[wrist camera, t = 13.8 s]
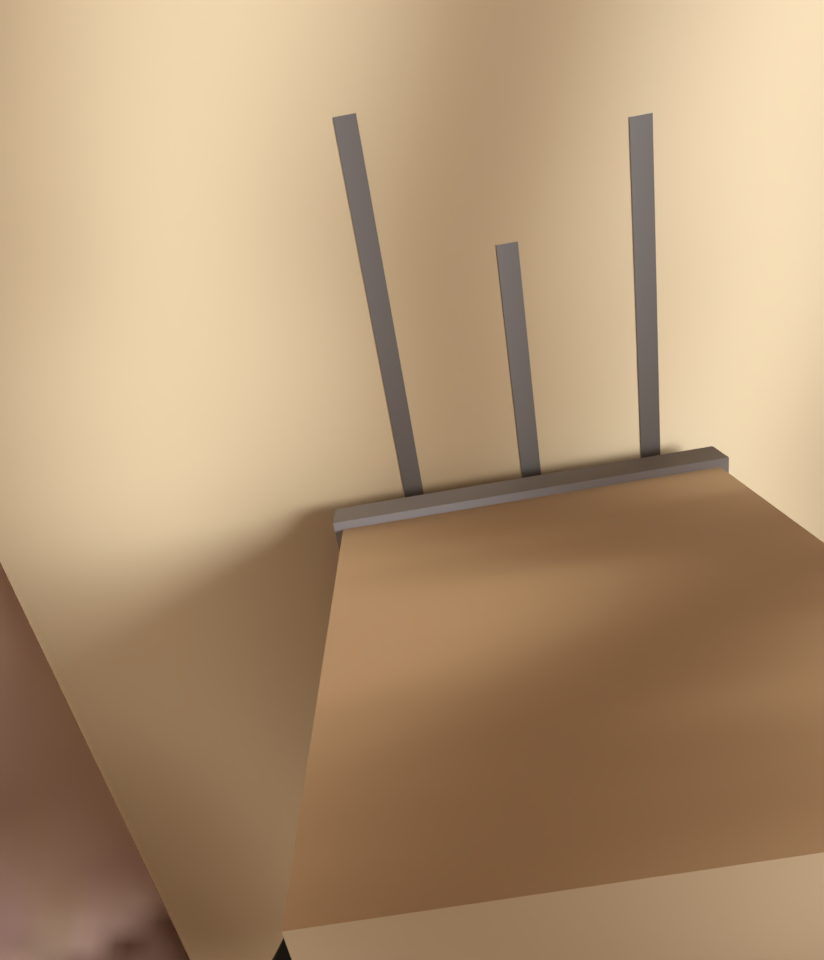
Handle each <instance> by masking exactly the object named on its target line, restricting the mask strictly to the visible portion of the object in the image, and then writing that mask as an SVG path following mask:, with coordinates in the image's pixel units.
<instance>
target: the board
mask: <svg viewBox="0 0 824 960" xmlns="http://www.w3.org/2000/svg"><path fill="white" fill-rule="evenodd" d="M710 446H713V447H715V448H716V449H718V450H719V451H721V452H722V453H724V454H725V455H726V456H728V457H729V474H731V475H732V476H733V477H735V478H736V479H737V480H739V481H740V482H742V483H743V484H744V485H746V486H747V487H748V488H750V489H751V490H752V491H754V492H755V493H757V494H758V495H759V496H761V497H762V498H763V499H765V500H766V501H768V502H769V503H770V504H772V505H773V506H774V507H776V508H777V509H778V510H780V511H781V512H783V513H784V514H785V515H787V516H788V517H789V518H791V519H792V520H793V521H795V522H796V523H798V524H799V525H800V526H802V527H803V528H804V529H806V530H807V531H808V532H810V533H811V534H813V535H814V536H815V537H817V538H818V539H819V540H821V541H822V542H823V543H824V0H0V563H1V565H2V567H3V569H4V571H5V573H6V575H7V577H8V580H9V582H10V584H11V586H12V588H13V590H14V592H15V594H16V596H17V598H18V601H19V603H20V605H21V607H22V609H23V611H24V613H25V615H26V617H27V619H28V621H29V624H30V626H31V628H32V630H33V632H34V634H35V636H36V638H37V640H38V642H39V645H40V647H41V649H42V651H43V653H44V655H45V657H46V659H47V661H48V663H49V665H50V668H51V670H52V672H53V674H54V676H55V678H56V680H57V682H58V684H59V686H60V688H61V691H62V693H63V695H64V697H65V699H66V701H67V703H68V705H69V707H70V709H71V712H72V714H73V716H74V718H75V720H76V722H77V724H78V726H79V728H80V730H81V732H82V735H83V737H84V739H85V741H86V743H87V745H88V747H89V749H90V751H91V753H92V755H93V758H94V760H95V762H96V764H97V766H98V768H99V770H100V772H101V774H102V776H103V779H104V781H105V783H106V785H107V787H108V789H109V791H110V793H111V795H112V797H113V799H114V802H115V804H116V806H117V808H118V810H119V812H120V814H121V816H122V818H123V820H124V822H125V825H126V827H127V829H128V831H129V833H130V835H131V837H132V839H133V841H134V843H135V846H136V848H137V850H138V852H139V854H140V856H141V858H142V860H143V862H144V864H145V866H146V869H147V871H148V873H149V875H150V877H151V879H152V881H153V883H154V885H155V887H156V889H157V892H158V894H159V896H160V898H161V900H162V902H163V904H164V906H165V908H166V910H167V913H168V915H169V917H170V919H171V921H172V923H173V925H174V927H175V929H176V931H177V933H178V936H179V938H180V940H181V942H182V944H183V946H184V948H185V950H186V952H187V954H188V956H189V959H190V960H272V959H273V957H274V955H275V953H276V951H277V949H278V947H279V945H280V943H281V942H282V940H283V938H284V937H283V935H282V932H281V931H282V925H283V918H284V912H285V905H286V899H287V892H288V886H289V879H290V873H291V866H292V860H293V853H294V847H295V840H296V833H297V827H298V820H299V814H300V807H301V801H302V794H303V788H304V781H305V775H306V768H307V762H308V755H309V749H310V742H311V736H312V729H313V723H314V716H315V710H316V703H317V697H318V690H319V684H320V677H321V670H322V664H323V657H324V651H325V644H326V638H327V631H328V625H329V618H330V612H331V605H332V599H333V592H334V586H335V579H336V573H337V566H338V560H339V553H340V551H339V547H338V543H337V538H336V534H335V530H334V526H333V520H334V515H335V510H336V509H339V508H345V507H351V506H357V505H363V504H369V503H375V502H381V501H387V500H393V499H399V498H405V497H411V496H417V495H423V494H429V493H435V492H441V491H447V490H453V489H459V488H465V487H471V486H477V485H483V484H489V483H495V482H501V481H507V480H513V479H519V478H525V477H531V476H537V475H543V474H549V473H555V472H561V471H567V470H572V469H578V468H584V467H590V466H596V465H602V464H608V463H614V462H620V461H626V460H632V459H638V458H644V457H650V456H656V455H662V454H668V453H674V452H680V451H686V450H692V449H698V448H704V447H710Z"/></svg>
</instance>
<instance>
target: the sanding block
mask: <svg viewBox="0 0 824 960" xmlns="http://www.w3.org/2000/svg"><path fill="white" fill-rule="evenodd" d="M333 526H334V530H335V534H336V538H337V543H338V547H339V551H340V553H339V560H338V566H337V573H336V579H335V586H334V592H333V599H332V605H331V612H330V618H329V625H328V631H327V638H326V644H325V651H324V657H323V664H322V670H321V677H320V684H319V690H318V697H317V703H316V710H315V716H314V723H313V729H312V736H311V742H310V749H309V755H308V762H307V768H306V775H305V781H304V788H303V794H302V801H301V807H300V814H299V820H298V827H297V833H296V840H295V847H294V853H293V860H292V866H291V873H290V879H289V886H288V892H287V899H286V905H285V912H284V918H283V925H282V931H281V932H282V935H283V937H284V940H285V943H286V946H287V948H288V951H289V954H290V957H291V959H292V960H824V543H823V542H822V541H821V540H819V539H818V538H817V537H815V536H814V535H813V534H811V533H810V532H808V531H807V530H806V529H804V528H803V527H802V526H800V525H799V524H798V523H796V522H795V521H793V520H792V519H791V518H789V517H788V516H787V515H785V514H784V513H783V512H781V511H780V510H778V509H777V508H776V507H774V506H773V505H772V504H770V503H769V502H768V501H766V500H765V499H763V498H762V497H761V496H759V495H758V494H757V493H755V492H754V491H752V490H751V489H750V488H748V487H747V486H746V485H744V484H743V483H742V482H740V481H739V480H737V479H736V478H735V477H733V476H732V475H731V474H729V457H728V456H726V455H725V454H724V453H722V452H721V451H719V450H718V449H716V448H715V447H713V446H710V447H704V448H698V449H692V450H686V451H680V452H674V453H668V454H662V455H656V456H650V457H644V458H638V459H632V460H626V461H620V462H614V463H608V464H602V465H596V466H590V467H584V468H578V469H572V470H567V471H561V472H555V473H549V474H543V475H537V476H531V477H525V478H519V479H513V480H507V481H501V482H495V483H489V484H483V485H477V486H471V487H465V488H459V489H453V490H447V491H441V492H435V493H429V494H423V495H417V496H411V497H405V498H399V499H393V500H387V501H381V502H375V503H369V504H363V505H357V506H351V507H345V508H339V509H336V510H335V515H334V520H333Z"/></svg>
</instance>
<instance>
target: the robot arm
mask: <svg viewBox="0 0 824 960" xmlns="http://www.w3.org/2000/svg"><path fill="white" fill-rule="evenodd" d="M272 960H292V959H291V957H290V954H289V951H288V948H287V946H286V943H285V940H284V938H283V940H282V942H281V943H280V945H279V947H278V949H277V951H276V953H275V955H274V957H273V959H272Z"/></svg>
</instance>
